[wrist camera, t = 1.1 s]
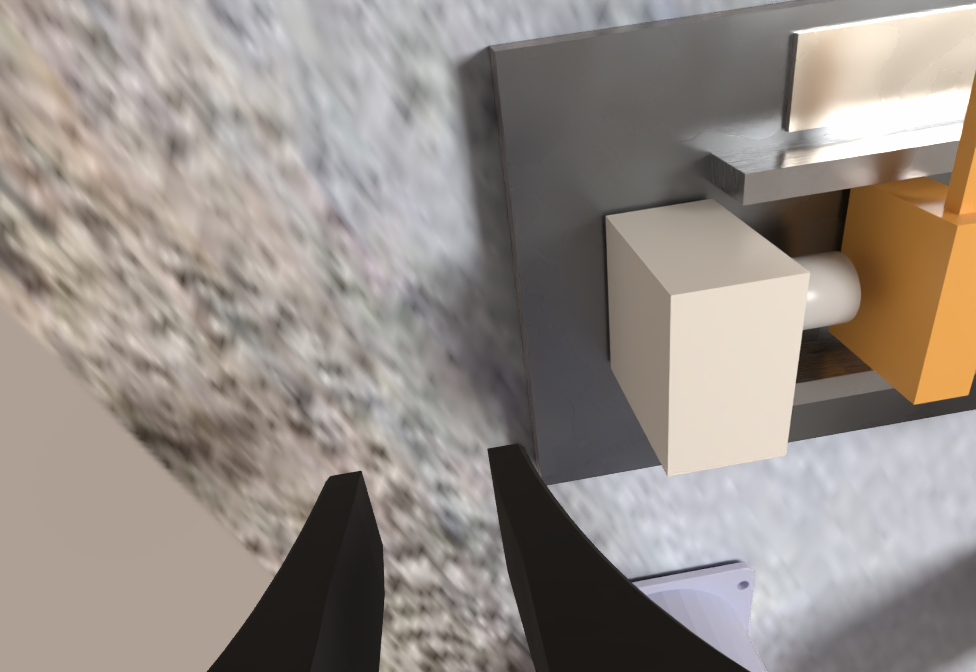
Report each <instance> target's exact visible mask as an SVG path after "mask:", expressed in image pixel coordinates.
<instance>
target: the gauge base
mask: <svg viewBox="0 0 976 672" xmlns="http://www.w3.org/2000/svg"><path fill="white" fill-rule="evenodd" d="M489 50H490V59H491V68H492V77H493V86H494V95H495V104H496V112H497V121H498V130H499V139H500V148H501V157H502V166H503V175H504V184H505V192H506V201H507V210H508V219H509V228H510V237H511V246H512V255H513V264H514V273H515V281H516V290H517V299H518V308H519V317H520V326H521V335H522V344H523V353H524V361H525V370H526V379H527V388H528V397H529V406H530V415H531V424H532V433H533V441H534V450H535V459H536V465H537V469H538V473H539V475H540V477H541V478H542V480H543V481H544V483H545V484H546V485H552V484H557V483H563V482H568V481H574V480H580V479H585V478H591V477H597V476H602V475H608V474H614V473H619V472H625V471H630V470H636V469H642V468H647V467H653V466H659V465H661V463H660V461H659V459H658V457H657V455H656V453H655V451H654V450H653V448H652V446H651V444H650V442H649V440H648V438H647V436H646V434H645V432H644V431H643V429H642V427H641V425H640V423H639V421H638V419H637V417H636V415H635V413H634V411H633V410H632V408H631V406H630V404H629V402H628V400H627V398H626V396H625V394H624V392H623V391H622V389H621V387H620V385H619V383H618V381H617V379H616V377H615V375H614V373H613V372H612V370H611V357H610V328H609V300H608V271H607V243H606V216H607V215H613V214H619V213H626V212H632V211H638V210H644V209H651V208H657V207H663V206H669V205H675V204H682V203H688V202H694V201H700V200H707V199H714V200H715V201H716V202H718V203H719V204H720V205H722V206H723V207H724V208H726V209H727V210H728V211H730V212H731V213H732V214H734V215H735V216H736V217H738V218H739V219H740V220H741V221H743V222H744V223H745V224H747V225H748V226H749V227H751V228H752V229H753V230H755V231H756V232H757V233H759V234H760V235H761V236H763V237H764V238H765V239H767V240H768V241H769V242H771V243H772V244H773V245H775V246H776V247H777V248H779V249H780V250H781V251H783V252H784V253H785V254H787V255H788V256H789V257H790V258H794V257H800V256H806V255H812V254H818V253H824V252H830V251H839V252H841V248H842V241H843V235H844V228H845V222H846V216H847V209H848V203H849V196H850V190H851V188H855V187H861V186H867V185H873V184H880V183H886V182H892V181H898V180H904V179H911V178H917V177H923V176H926V177H929V178H931V179H933V180H936V181H938V182H941V183H943V184H946V185H948V186H949V183H950V179H951V175H952V170H953V166H954V162H955V157H956V153H957V149H958V144H959V140H960V136H961V132H962V127H963V123H964V119H965V114H966V110H967V106H968V101H969V97H970V93H971V88H972V84H973V80H974V75H975V71H976V0H795V1H788V2H782V3H775V4H768V5H761V6H755V7H748V8H741V9H734V10H728V11H721V12H714V13H707V14H701V15H694V16H687V17H680V18H674V19H667V20H660V21H653V22H647V23H640V24H633V25H627V26H620V27H613V28H606V29H600V30H593V31H586V32H579V33H573V34H566V35H559V36H552V37H546V38H539V39H532V40H525V41H519V42H512V43H505V44H498V45H492V46H489ZM974 409H976V371H975V374H974V378H973V381H972V384H971V388H970V391H969V395H966V396H961V397H955V398H949V399H944V400H938V401H932V402H927V403H921V404H915V405H914V404H912V403H911V402H910V401H909V400H908V399H907V398H905V397H904V396H903V395H902V394H901V393H900V392H898V391H897V390H896V389H895V388H894V387H893V386H891V385H890V384H889V383H888V382H887V381H886V380H884V379H883V378H882V377H881V376H880V375H879V374H877V373H876V372H875V371H874V370H873V369H872V368H870V367H869V366H868V365H867V364H866V363H865V362H863V361H862V360H861V359H860V358H859V357H858V356H857V355H855V354H854V353H853V352H852V351H851V350H850V349H848V348H847V347H846V346H845V345H844V344H843V343H841V342H840V341H839V340H838V339H837V338H836V337H834V336H833V335H832V334H831V333H830V332H829V326H824V327H818V328H812V329H806V330H803V331H802V339H801V346H800V354H799V361H798V369H797V376H796V384H795V391H794V399H793V406H792V414H791V421H790V429H789V436H788V442H794V441H799V440H805V439H811V438H816V437H822V436H828V435H833V434H839V433H844V432H850V431H856V430H861V429H867V428H873V427H878V426H884V425H889V424H895V423H901V422H906V421H912V420H918V419H923V418H929V417H935V416H940V415H946V414H951V413H957V412H963V411H968V410H974Z"/></svg>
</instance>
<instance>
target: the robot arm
mask: <svg viewBox="0 0 976 672" xmlns="http://www.w3.org/2000/svg"><path fill="white" fill-rule="evenodd" d="M488 456H489V462H490V468H491V475H492V481H493V487H494V494H495V500H496V506H497V513H498V519H499V525H500V531H501V536H502V542H503V548H504V553H505V559H506V565H507V570H508V574H509V578H510V582H511V585H512V589H513V592H514V596H515V599H516V603H517V607H518V610H519V614H520V617H521V621H522V624H523V628H524V631H525V635H526V638H527V642H528V645H529V649H530V653H531V656H532V660H533V663H534V667H535V670H536V672H768V671H767V669H766V667H765V665H764V663H763V661H762V660H761V658H760V656H759V654H758V652H757V650H756V648H755V646H754V644H753V642H752V640H751V638H750V637H749V635H748V630H749V621H750V613H751V604H752V596H753V587H754V578H755V571H754V570H753V568H752V566H751V565H750V564H749V563H746V562H739V563H734V564H729V565H723V566H718V567H712V568H707V569H702V570H696V571H691V572H685V573H680V574H675V575H669V576H664V577H658V578H653V579H648V580H642V581H637V582H631V581H630V580H628V579H627V578H626V577H625V576H624V575H623V574H622V573H621V572H620V571H619V570H618V569H617V568H616V567H615V566H614V565H613V564H612V563H611V562H610V561H609V560H608V559H607V558H606V557H605V556H604V555H603V554H602V553H601V552H600V551H599V550H598V549H597V548H596V547H595V545H594V544H593V543H592V542H591V541H590V540H589V539H588V538H587V536H586V535H585V534H584V533H583V532H582V531H581V530H580V528H579V527H578V526H577V525H576V524H575V523H574V521H573V520H572V519H571V518H570V516H569V515H568V514H567V513H566V511H565V510H564V509H563V507H562V506H561V505H560V504H559V502H558V501H557V500H556V498H555V497H554V496H553V494H552V493H551V492H550V490H549V489H548V487H547V486H546V484H545V483H544V481H543V480H542V478H541V477H540V475H539V474H538V472H537V471H536V469H535V467H534V466H533V464H532V462H531V460H530V458H529V456H528V455H527V453H526V450H525V448H524V447H523V446H521V445H520V444H518V443H517V444H512V445H506V446H500V447H495V448H489V449H488ZM384 597H385V590H384V562H383V544H382V541H381V537H380V534H379V530H378V527H377V523H376V520H375V516H374V513H373V509H372V506H371V502H370V499H369V495H368V492H367V488H366V485H365V481H364V478H363V475H362V471H357V472H351V473H346V474H340V475H334V476H330V477H329V478H328V480H327V481H326V482H325V485H324V487H323V489H322V491H321V493H320V495H319V497H318V499H317V501H316V503H315V505H314V507H313V509H312V511H311V513H310V515H309V517H308V519H307V521H306V523H305V525H304V527H303V529H302V531H301V532H300V534H299V536H298V538H297V540H296V541H295V543H294V545H293V547H292V548H291V550H290V552H289V554H288V556H287V557H286V559H285V561H284V563H283V564H282V566H281V568H280V569H279V571H278V573H277V574H276V576H275V577H274V579H273V580H272V582H271V584H270V585H269V587H268V588H267V590H266V591H265V593H264V595H263V596H262V598H261V600H260V601H259V602H258V604H257V606H256V607H255V608H254V610H253V611H252V613H251V614H250V616H249V617H248V619H247V620H246V622H245V623H244V624H243V626H242V627H241V628H240V630H239V631H238V633H237V634H236V635H235V637H234V638H233V639H232V640H231V642H230V643H229V645H228V646H227V647H226V648H225V650H224V651H223V652H222V654H221V655H220V656H219V657H218V659H217V660H216V661H215V662H214V664H213V665H212V666H211V667H210V668H209V670H208V671H207V672H379V662H380V650H381V637H382V624H383V611H384Z"/></svg>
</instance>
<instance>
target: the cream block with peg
mask: <svg viewBox="0 0 976 672" xmlns="http://www.w3.org/2000/svg"><path fill="white" fill-rule="evenodd" d="M606 243H607V271H608V300H609V328H610V357H611V370H612V372H613V373H614V375H615V377H616V379H617V381H618V383H619V385H620V387H621V389H622V391H623V392H624V394H625V396H626V398H627V400H628V402H629V404H630V406H631V408H632V410H633V411H634V413H635V415H636V417H637V419H638V421H639V423H640V425H641V427H642V429H643V431H644V432H645V434H646V436H647V438H648V440H649V442H650V444H651V446H652V448H653V450H654V451H655V453H656V455H657V457H658V459H659V461H660V463H661V465H662V467H663V469H664V471H665V472H666V474H667V476H674V475H680V474H685V473H691V472H696V471H702V470H708V469H713V468H719V467H724V466H730V465H736V464H741V463H747V462H752V461H758V460H764V459H769V458H775V457H780V456H786V451H787V444H788V436H789V429H790V421H791V414H792V406H793V399H794V391H795V384H796V376H797V369H798V361H799V354H800V346H801V339H802V331H803V330H806V329H812V328H818V327H824V326H830V325H836V324H842V323H847V322H850V321H851V320H852V319H853V318H854V317H855V316H856V314H857V312H858V310H859V306H860V301H861V287H860V281H859V277H858V274H857V271H856V269H855V267H854V265H853V263H852V262H851V260H850V259H849V258H848V257H847V256H846V255H845V254H843V253H842V252H839V251H830V252H824V253H818V254H812V255H806V256H800V257H794V258H790V257H789V256H788V255H787V254H785V253H784V252H783V251H781V250H780V249H779V248H777V247H776V246H775V245H773V244H772V243H771V242H769V241H768V240H767V239H765V238H764V237H763V236H761V235H760V234H759V233H757V232H756V231H755V230H753V229H752V228H751V227H749V226H748V225H747V224H745V223H744V222H743V221H741V220H740V219H739V218H738V217H736V216H735V215H734V214H732V213H731V212H730V211H728V210H727V209H726V208H724V207H723V206H722V205H720V204H719V203H718V202H716V201H715V200H714V199H707V200H700V201H694V202H688V203H682V204H675V205H669V206H663V207H657V208H651V209H644V210H638V211H632V212H626V213H619V214H613V215H607V216H606Z"/></svg>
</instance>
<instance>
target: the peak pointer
mask: <svg viewBox="0 0 976 672" xmlns="http://www.w3.org/2000/svg"><path fill="white" fill-rule="evenodd" d="M841 252H842V253H843V254H845V255H846V256H847V257H848V258H849V259H850V260H851V262H852V263H853V265H854V267H855V269H856V271H857V274H858V277H859V281H860V287H861V301H860V306H859V310H858V312H857V314H856V316H855V317H854V318H853V319H852V320H851V321H850V322H847V323H842V324H836V325H830V326H829V332H830V333H831V334H832V335H833V336H834V337H836V338H837V339H838V340H839V341H840V342H841V343H843V344H844V345H845V346H846V347H847V348H848V349H850V350H851V351H852V352H853V353H854V354H855V355H857V356H858V357H859V358H860V359H861V360H862V361H863V362H865V363H866V364H867V365H868V366H869V367H870V368H872V369H873V370H874V371H875V372H876V373H877V374H879V375H880V376H881V377H882V378H883V379H884V380H886V381H887V382H888V383H889V384H890V385H891V386H893V387H894V388H895V389H896V390H897V391H898V392H900V393H901V394H902V395H903V396H904V397H905V398H907V399H908V400H909V401H910V402H911V403H912V404H914V405H915V404H921V403H927V402H932V401H938V400H944V399H949V398H955V397H961V396H966V395H969V391H970V388H971V384H972V381H973V378H974V374H975V371H976V71H975V75H974V80H973V84H972V88H971V93H970V97H969V101H968V106H967V110H966V114H965V119H964V123H963V127H962V132H961V136H960V140H959V144H958V149H957V153H956V157H955V162H954V166H953V170H952V175H951V179H950V183H949V186H948V185H946V184H943V183H941V182H938V181H936V180H933V179H931V178H929V177H926V176H923V177H917V178H911V179H904V180H898V181H892V182H886V183H880V184H873V185H867V186H861V187H855V188H851V190H850V196H849V203H848V209H847V216H846V222H845V228H844V235H843V241H842V248H841Z"/></svg>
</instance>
